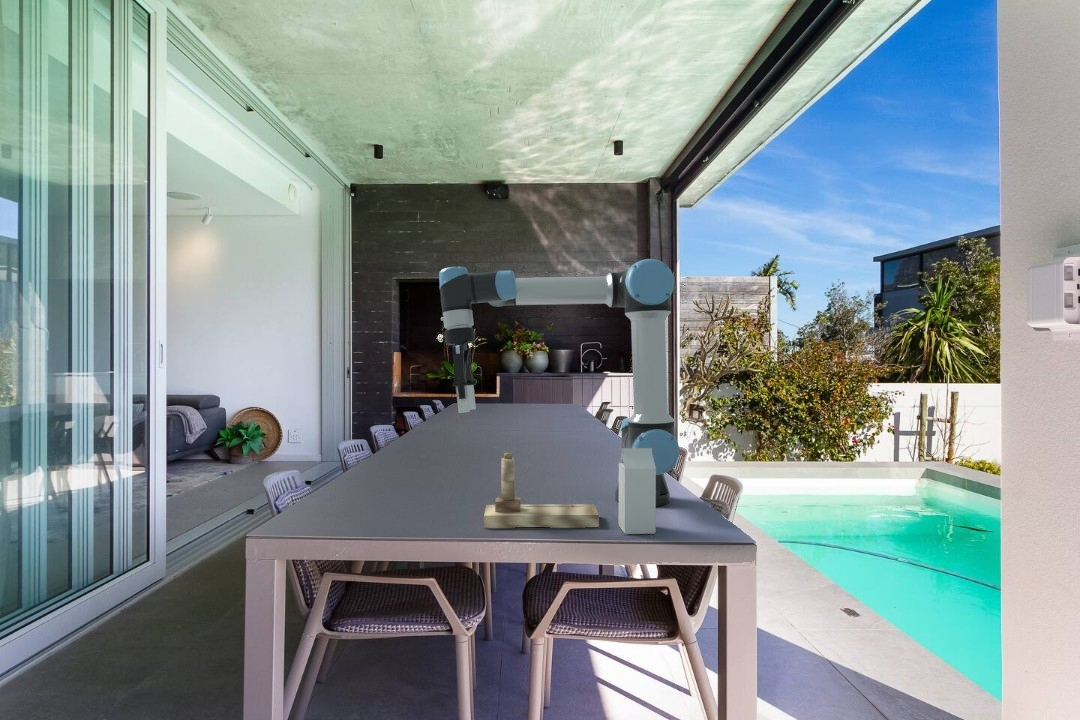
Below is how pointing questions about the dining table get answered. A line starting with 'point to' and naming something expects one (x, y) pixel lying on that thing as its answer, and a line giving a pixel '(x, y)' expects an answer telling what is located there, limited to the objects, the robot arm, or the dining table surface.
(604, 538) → the dining table surface
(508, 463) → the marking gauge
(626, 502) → the milk carton
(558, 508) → the oak plank
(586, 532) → the dining table surface
